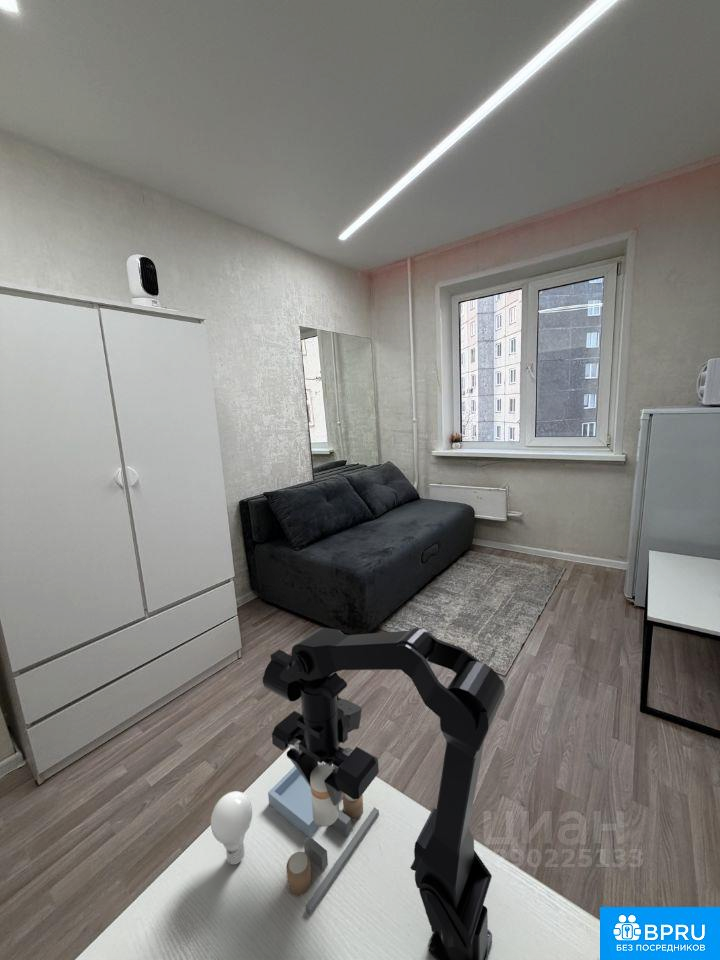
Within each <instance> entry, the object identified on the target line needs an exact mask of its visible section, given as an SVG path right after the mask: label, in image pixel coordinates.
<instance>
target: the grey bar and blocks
mask: <svg viewBox="0 0 720 960" xmlns="http://www.w3.org/2000/svg"><path fill="white" fill-rule="evenodd" d="M379 815H380V810H379V809H377V808H376V807H375V806H373V808H372V810H371V811H370V813H369V814H368V816H367V817H366V819H365V820H364V821H363V823H362V824H361V826H360V827H358V829H357V831H356V833H355V834H354V836H353V837H352V838H351V840H350V841H349V843H348V844H347V845H346V847H345V849H344V850H343V851H342V853H341V854H340V856H339V857H338V859H337V860H336V861H335V863H333V866H332V867H331V868H330V870H329V872H328V873H327V874H326V876H325V877H324V879H323V880H322V881H321V883H320V885H318V887H317V888H316V890H315V891H314V893H313V894H312V896H311V897H310V898H309V900H308V901H307V903H306V905H305V907H304V908H305V911H306V913H307V914H309V916H312V914H313V913H314V911H315V910H316V908H317V907H318V906H319V904H320V903H321V901H322V900H323V898H324V897H325V895H326V894H327V892H328V891H329V889H330V888H331V886H332V885H333V883H334V882H335V881H336V879H337V878H338V876H339V874H340V873H341V872H342V870H343V868H344V867H345V865H346V864H347V863H348V861H349V860H350V858H351V856H352V855H353V854H354V852H355V850H357V847H358V846H359V844H360V843H361V842H362V841H363V839H364V837H365V836H366V834H367V833H368V831H369V830H370V828H371V827H372V825H373V824H374V822H375V821H376V819H377V818H378V816H379ZM331 826H332V827H333V828H335V830H337V831H338V832H339V833H341V834H343V836H345V837H349V836H350V834H351V833H352V831H353V830H352V820H351V818H350V817H348V816H347V815H346V814H344V811H343V810H342V811H341V810H340V809H339V816H338V818H337V820H336V821H335V822H334V823H333V824H332V825H331ZM303 849H304V851H303V852H305V853H306V854H307V855H308V856H309V858H310V862H311V863H312V864H314V865H315V866H316V867H317V868H318V869H320V870H321V871H322V872H323V871H325V869H326V868H327V866H328V865H329V861H328V860H329V859H328V850H327V849H326V848H324V847H323V846H322V845H321V844H320V843H318V842H317V841H316V840H315V839H314V838H312V836H311V837H310V836H306V839H305V840H304V841H303Z"/></svg>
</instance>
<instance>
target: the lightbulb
mask: <svg viewBox="0 0 720 960" xmlns="http://www.w3.org/2000/svg"><path fill="white" fill-rule="evenodd" d="M252 820H253V805H252V801H251V800H250V798H249V796H247V794H245V793H244V792H242V791H238V790H235V791H234V790H233V791H229V792H228V793H226V794H224V795H223V796H222V797H220V798H219V800H218V801H217V802H216V804H215V806H214V808H213V810H212V813H211V817H210V829H211V833H212V835H213V837H214V838H215V839H216V841H217V842H218V843H220V844H222V845H223V847H224V849H225V851H226V859H227V862H228V863H229V864H230V865H237V864H239V863H240V862H241V861H242V859H243V858H244V855H245V845H244V841H245V835H246V833H247V831H248V830H249V828H250V825H251V822H252Z"/></svg>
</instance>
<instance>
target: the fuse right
mask: <svg viewBox="0 0 720 960" xmlns="http://www.w3.org/2000/svg"><path fill="white" fill-rule="evenodd" d="M363 798H364V797H363V794H362V795H361V797H360V798H359V799H354V800H353V799H352V798H351V797H349V796H348V795H346V794H345V793H343V797H342V808H343V813H344V814H346V815H347V816H348V817H350V818H351V821H356V820H359V819H360V818H362V815H363V814H364V799H363Z"/></svg>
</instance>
